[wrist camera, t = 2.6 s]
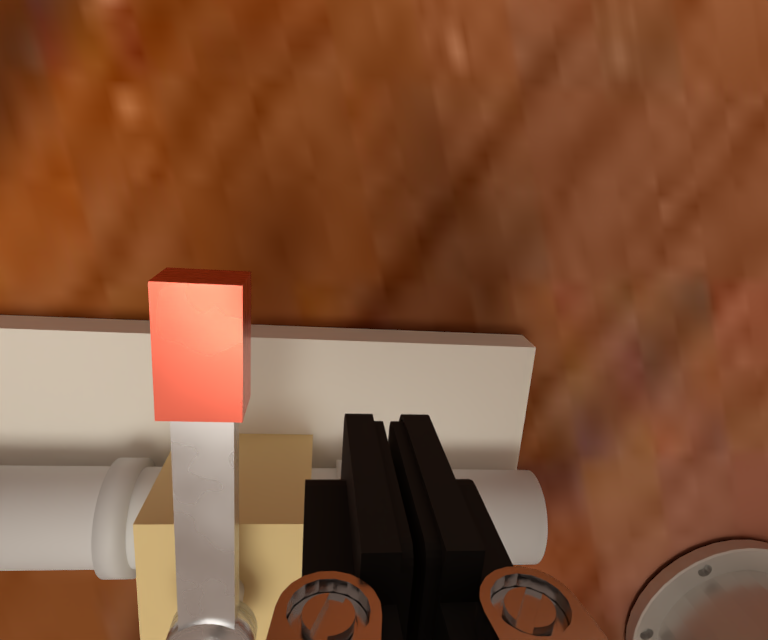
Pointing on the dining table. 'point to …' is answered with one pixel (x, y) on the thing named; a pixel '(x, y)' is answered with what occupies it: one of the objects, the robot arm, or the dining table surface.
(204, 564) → the valve lever
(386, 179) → the dining table surface
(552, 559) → the dining table surface
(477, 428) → the valve base
